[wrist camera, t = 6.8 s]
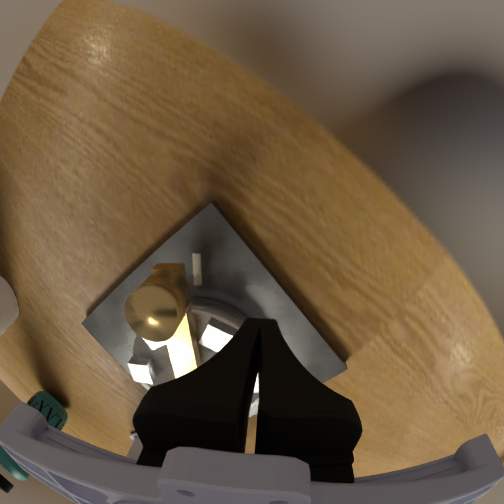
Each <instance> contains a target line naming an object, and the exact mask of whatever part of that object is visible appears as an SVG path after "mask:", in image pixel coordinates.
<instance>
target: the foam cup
mask: <svg viewBox="0 0 504 504" xmlns="http://www.w3.org/2000/svg"><path fill="white" fill-rule="evenodd" d="M18 316H19V307H18V302H17V299H16V297H15V294H14V292H13V290H12V288H11V287H10V285H9V284H8V282H7V281H6V280H5V279H4V278H2V277H1V276H0V337H1V335H2V334H3V333H4V332H5V331H6V330H7V329H8V328H9V327H10V325H11V324H12V323H13V322H14V321H15V320H16V318H17V317H18Z"/></svg>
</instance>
